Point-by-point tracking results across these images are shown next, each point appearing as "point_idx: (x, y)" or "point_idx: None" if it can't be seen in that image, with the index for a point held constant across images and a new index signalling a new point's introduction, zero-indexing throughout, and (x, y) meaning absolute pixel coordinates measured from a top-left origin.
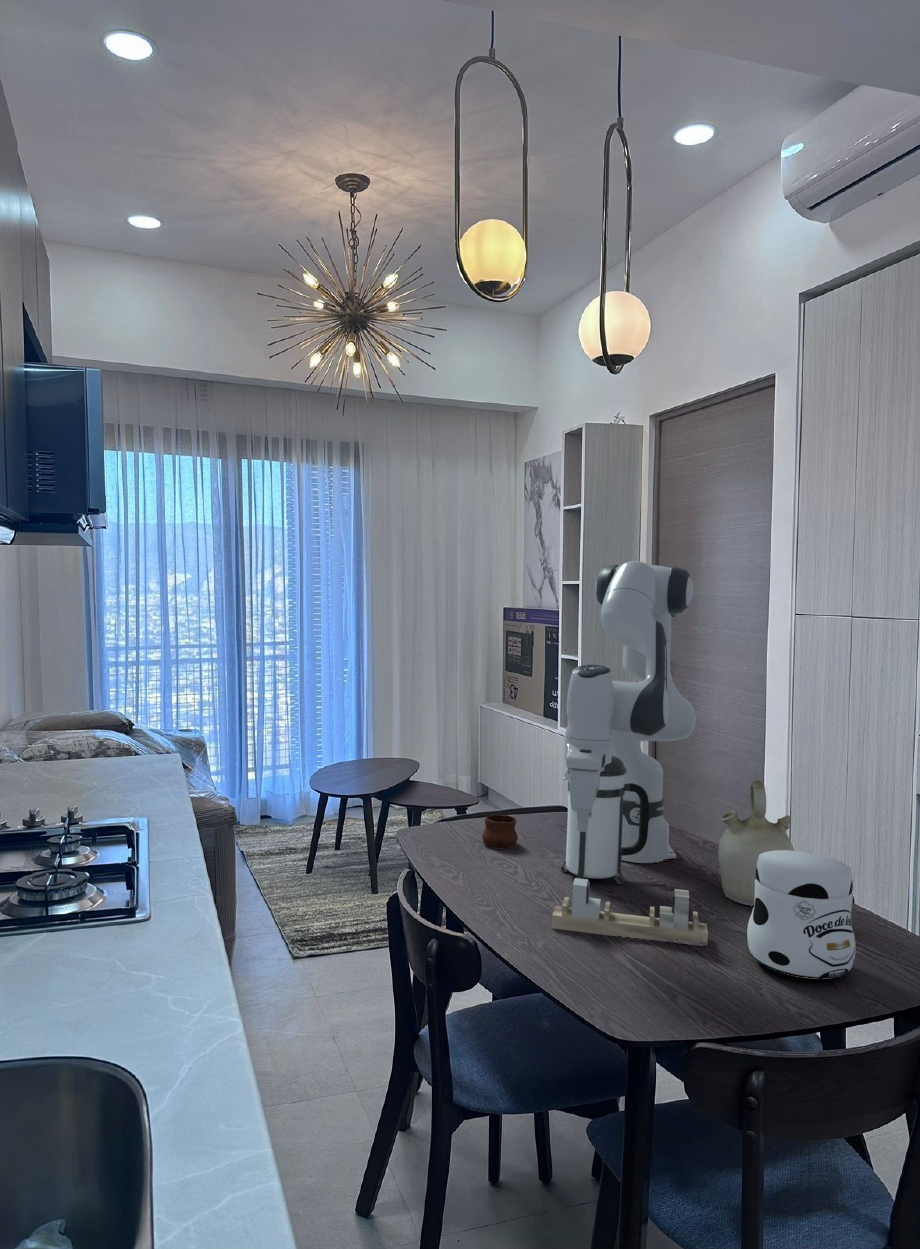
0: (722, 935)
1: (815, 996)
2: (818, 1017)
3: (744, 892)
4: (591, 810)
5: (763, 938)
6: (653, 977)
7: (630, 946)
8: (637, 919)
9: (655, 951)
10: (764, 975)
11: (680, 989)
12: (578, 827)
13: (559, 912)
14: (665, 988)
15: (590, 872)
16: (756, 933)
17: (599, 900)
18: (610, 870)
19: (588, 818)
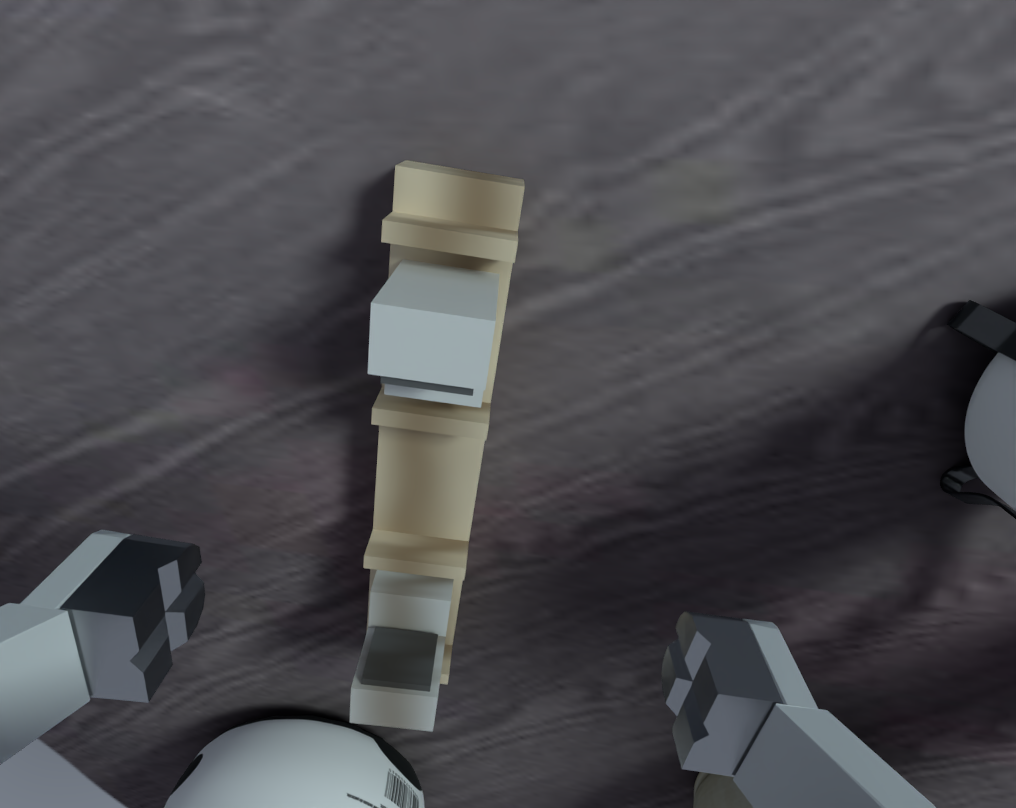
0: (474, 675)
1: (162, 758)
2: (56, 741)
3: (715, 794)
4: (681, 758)
5: (196, 793)
6: (93, 477)
7: (312, 442)
8: (434, 502)
9: (296, 506)
10: (235, 704)
11: (48, 530)
12: (79, 556)
13: (439, 203)
14: (33, 496)
15: (990, 385)
16: (220, 789)
17: (462, 401)
18: (982, 472)
19: (668, 649)
